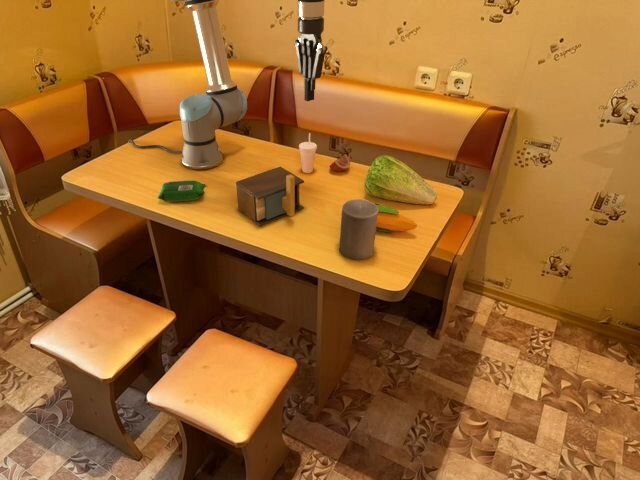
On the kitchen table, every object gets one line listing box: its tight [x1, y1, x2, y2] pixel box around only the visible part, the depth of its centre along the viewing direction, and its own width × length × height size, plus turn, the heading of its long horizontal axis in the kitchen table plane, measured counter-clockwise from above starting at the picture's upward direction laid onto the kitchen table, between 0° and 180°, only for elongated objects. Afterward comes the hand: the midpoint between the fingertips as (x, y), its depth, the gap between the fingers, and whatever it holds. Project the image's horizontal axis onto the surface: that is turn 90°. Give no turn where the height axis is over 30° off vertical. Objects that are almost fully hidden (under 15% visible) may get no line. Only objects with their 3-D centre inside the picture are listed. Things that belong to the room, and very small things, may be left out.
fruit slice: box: [329, 153, 351, 172], centre depth 177 cm, size 8×7×5 cm
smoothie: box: [298, 132, 318, 174], centre depth 175 cm, size 6×6×14 cm
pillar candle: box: [338, 198, 378, 261], centre depth 135 cm, size 10×10×15 cm
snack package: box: [157, 180, 208, 203], centre depth 163 cm, size 7×16×5 cm, turn 94°
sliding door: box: [265, 174, 296, 220], centre depth 148 cm, size 5×8×14 cm, turn 126°
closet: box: [235, 166, 305, 227], centre depth 155 cm, size 12×17×10 cm
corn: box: [374, 203, 418, 233], centre depth 146 cm, size 7×8×20 cm
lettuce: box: [363, 154, 438, 205], centre depth 158 cm, size 14×23×14 cm
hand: (309, 99), depth 155 cm, fingers closed
